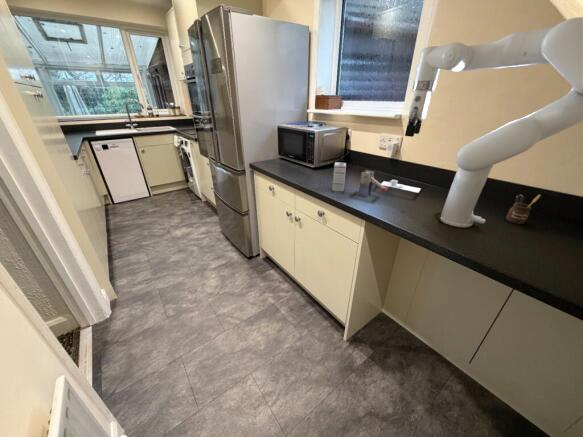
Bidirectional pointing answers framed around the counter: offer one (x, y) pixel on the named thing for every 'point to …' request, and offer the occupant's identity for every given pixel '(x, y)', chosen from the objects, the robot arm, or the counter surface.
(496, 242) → the counter surface
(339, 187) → the syrup box
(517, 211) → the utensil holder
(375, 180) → the lever
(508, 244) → the counter surface
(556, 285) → the counter surface
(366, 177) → the bracket
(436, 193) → the counter surface
